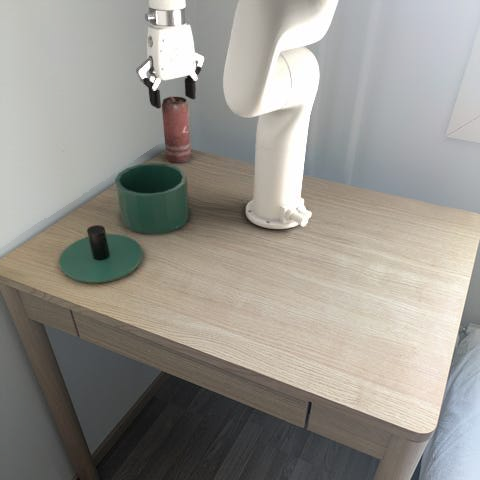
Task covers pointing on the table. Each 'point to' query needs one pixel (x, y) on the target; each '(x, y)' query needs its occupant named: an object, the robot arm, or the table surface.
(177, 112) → the can
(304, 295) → the table surface
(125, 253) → the lid
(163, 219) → the pot
